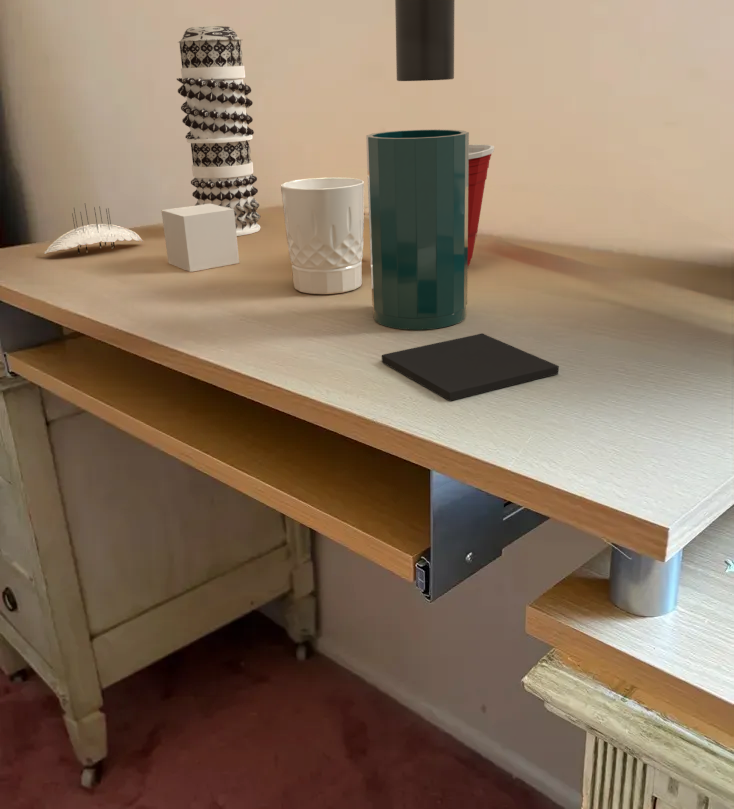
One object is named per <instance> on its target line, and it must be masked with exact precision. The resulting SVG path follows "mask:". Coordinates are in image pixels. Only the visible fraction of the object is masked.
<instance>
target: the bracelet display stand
mask: <svg viewBox="0 0 734 809" xmlns="http://www.w3.org/2000/svg"><path fill="white" fill-rule="evenodd" d="M178 43H179V52H180V60H181V68H180V74H181V77H178V78H176V81H177V82H179V83H181V86H180V87H179V88H178V89H177V93H178V94H179V95H180V96H182V97H183V98H186V100H185V101H184V102H183V103H182V105H181V106H180V110H181V111H182V112H183V113H184V114H186V115H185V116H184V117H183V118H182V121H181V122H182V123H183V124H184V125H185V126H186V127H187V128H189V131H188V132H187V133H186V135H185V139H186V142H187V143H188V144H190V149H191V159H192V164H191V170H192V177H194V178H193V179H191V180H190V184H191V185H192V186H193V187H195V188H196V189H195V190H194V191H193V192H192V194H191V196H192V197H193V198H195V199H196V200H197V201H196V203H195V204H194V206H196V205H203V204H214V205H218V206H222V207H227V208H231V209H234V214H235V224H236V234H237V237H240V236H246V235H251V234H255V233H258V232H259V231H260V230H261V225H260V224H258V222H259V220H260V219H261V215H260V213H258V209H259V208H260V203H259V201H257V199H256V198H255V195H257V194H258V192H259V190H258V188H256V187H255V186H254V184H255V183H256V182H257V181H258V177H257V176H256V175H254V163H253V161H252V159H251V147H250V141H251V140H253V139H254V138H253V137H254V136H253V135H254V134H255V131H254V130H253V128H251V127H249V124H251V123H252V122H253V120H254V119H253V117H252V116H251V115H249V114H248V113H247V109H249V108H250V107H251V106H252V105H253V103H254V102H253V101H252V100H251V99H250V98H248V95H249V94H251V93H252V88H251V87H250V85H248V84H247V83H246V82H245V83H244V79H245V78H246V67H245V65H244V64H243V60H242V58H243V51H242V48H241V47H242V39H241V38H240V37H239V36H238V34H237V32H236V31H235V30H234V28H233V27H230V26H226V25H225V26H224V25H221V26H219V25H216V26H215V25H214V26H194V27H193V26H192V27H189V28H187V29H185V31H184V32H183V35H182V37H181V39H180V41H178Z"/></svg>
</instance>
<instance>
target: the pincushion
mask: <svg viewBox="0 0 734 809" xmlns="http://www.w3.org/2000/svg"><path fill="white" fill-rule="evenodd" d="M86 205H87V204H84V207H85V209H87V207H86ZM93 207H94V208H93V210H94V211H96V208H95V206H93ZM98 208H99V209H101V206H99V207H98ZM73 211H74V214H73V213H71V215H72V216H71V217H72V221H73V222H72V223H73V227H74V228H73V229H71V230H68V232H65V233H64V234H62V235H61V236H58V238H56V240H53V242H52V243H51V244H50V245H49V246H48V247H47V249H45V251H44V252H43V253H44V254H45V255H46V254H49V253H53V252H54V253H55V252H59V251H65V250H67V251H68V250H70V249H74V248H77V252H78V254H81V252H80V248H82V246H85V251H86V253H89V249H88V246H87V245H93V244H99V248H100V249H102V243H104V246H107V243H111V244H110V247H111V249H112V250H113V249H115V248H116V245H115V242H116V241H119V242H124V241H127V242H131V241H132V240H133V241H135V242H142V243H144V240H143V239H142V238H141V237H140V235H139V234H138V233H136V232H135V231H134V230H131V229H129V228H127V227H123V226H119V225H115V224H112V222H111V220H109V219H111V216H110V214H106V218H107V220H109V221H107V223H98V219H97V218H95V222H96V223H91V224H89V222H87V224H86V225H84V224H83V221H81V224H82V226H79V227H78V226H75V225H78V223H77V222H78V221H77V220H75V219H77V215H76V211H75V208H73ZM87 212H88V210H85V213H86V215H88V213H87ZM105 212H106V213H110V208H109V207H107V208H105ZM79 213H80V214H82V211H79ZM99 213H100V215H102V212H101V210H99ZM94 215H95V217H97V214H96V212H94ZM80 219H81V220H83V217H82V215H80ZM86 219H87V221H89V218H88V216H86ZM100 221H101V222H103V219H102V216H100Z"/></svg>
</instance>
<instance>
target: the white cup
mask: <svg viewBox="0 0 734 809" xmlns="http://www.w3.org/2000/svg"><path fill="white" fill-rule="evenodd" d="M280 192H281V198H282V208H283V217H284V224H285V225H284V226H285V234H286V242H287V249H288V256H289V260H290V263H291V272H292V280H293V288H294V289H295V290H296V291H298V292H300V293H304V294H310V295H334V294H343V293H347V292H352V291H355V290H357V289H359V288H360V287H361V286H362V283H363V281H362V280H363V279H362V278H363V274H362V270H363V269H362V267H363V265H362V264H363V261H362V260H363V258H364V240H365V239H364V231H365V181H364V180H363V179H361V178H356V177H345V176H344V177H343V176H342V177H341V176H339V177H338V176H334V177H333V176H329V177H328V176H327V177H310V178H300V179H293V180H289V181H286V182H283V183H281V184H280Z"/></svg>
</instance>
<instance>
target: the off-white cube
mask: <svg viewBox="0 0 734 809" xmlns="http://www.w3.org/2000/svg"><path fill="white" fill-rule="evenodd" d="M160 212H161V217H162V225H163V226H162V227H163V234H164V240H165V248H166V249H165V250H166V255H167V256H166V257H167V263H168V264H169V265H172V266H174V267H176V268H180V269H182V270H184V271H186V272H189V273H192V272H198V271H203V270H208V269H214V268H220V267H225V266H231V265H237V264H240V258H239V257H240V256H239V254H240V253H239V246H238V244H239V243H238V236H237V234H236V224H235V214H234V209H231V208H227V207H222V206H218V205H214V204H203V205H196V206H195V205H189V206H181V207H175V208H167V209H162V210H161V211H160Z"/></svg>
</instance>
